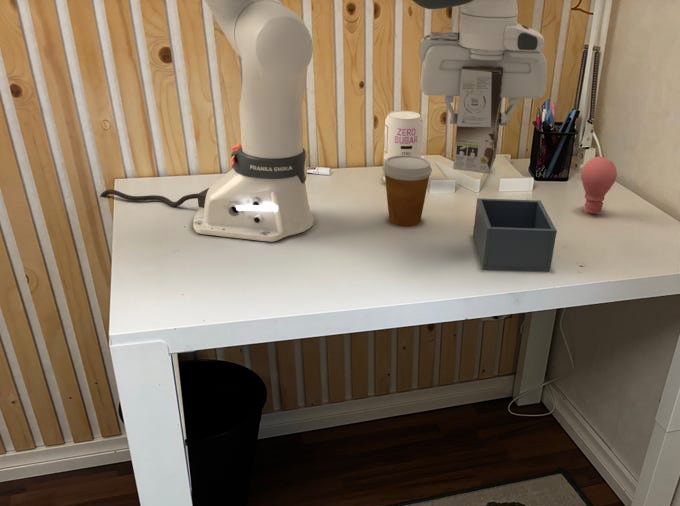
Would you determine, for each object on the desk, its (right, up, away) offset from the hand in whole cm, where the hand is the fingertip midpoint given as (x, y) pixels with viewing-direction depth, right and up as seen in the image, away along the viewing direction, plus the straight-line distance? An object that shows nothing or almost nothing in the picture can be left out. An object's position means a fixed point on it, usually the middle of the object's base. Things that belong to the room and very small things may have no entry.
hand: (479, 123), depth 122 cm
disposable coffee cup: (-13, -12, +25) cm, 30 cm away
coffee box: (0, -6, +4) cm, 7 cm away
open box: (+7, -19, +14) cm, 25 cm away
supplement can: (-14, +1, +44) cm, 46 cm away
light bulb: (+27, -8, +34) cm, 44 cm away
